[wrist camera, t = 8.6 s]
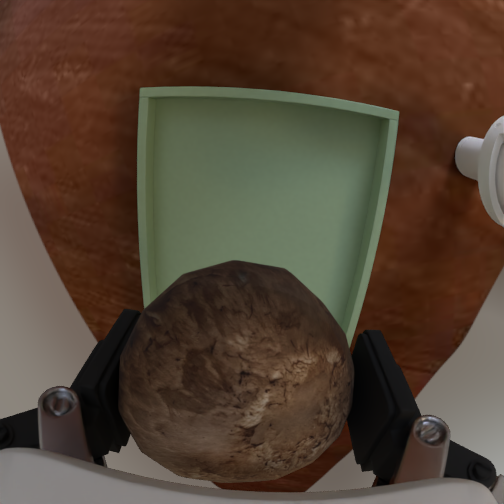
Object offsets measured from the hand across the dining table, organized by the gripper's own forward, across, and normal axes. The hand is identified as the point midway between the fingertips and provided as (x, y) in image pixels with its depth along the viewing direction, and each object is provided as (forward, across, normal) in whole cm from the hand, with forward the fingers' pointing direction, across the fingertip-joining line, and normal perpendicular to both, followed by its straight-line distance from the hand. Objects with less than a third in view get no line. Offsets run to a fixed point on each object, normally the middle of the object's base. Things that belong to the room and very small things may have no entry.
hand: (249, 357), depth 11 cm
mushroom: (+2, 0, 0) cm, 2 cm away
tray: (+12, 0, 0) cm, 12 cm away
